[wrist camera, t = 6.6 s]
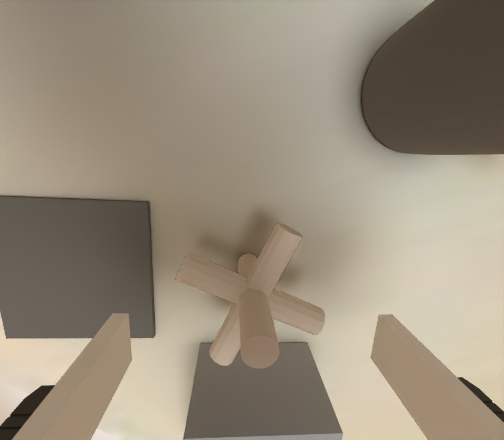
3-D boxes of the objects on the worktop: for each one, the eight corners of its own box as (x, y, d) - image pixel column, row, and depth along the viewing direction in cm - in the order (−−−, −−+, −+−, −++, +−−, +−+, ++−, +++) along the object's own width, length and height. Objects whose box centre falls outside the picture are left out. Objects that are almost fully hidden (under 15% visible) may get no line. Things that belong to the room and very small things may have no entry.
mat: (-18, 195, 18) (-25, 196, 18) (149, 201, 19) (147, 202, 19) (11, 334, 21) (6, 338, 21) (155, 333, 22) (153, 337, 22)
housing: (200, 343, 23) (183, 438, 15) (307, 342, 24) (342, 433, 16) (200, 426, 25) (185, 546, 17) (296, 423, 26) (323, 536, 18)
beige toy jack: (326, 236, 21) (405, 303, 11) (272, 329, 23) (301, 455, 13) (219, 184, 19) (204, 211, 10) (170, 289, 21) (117, 399, 12)
